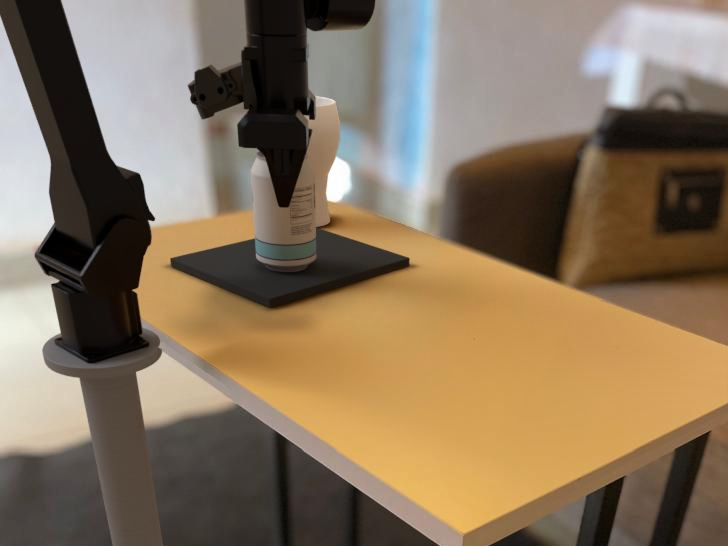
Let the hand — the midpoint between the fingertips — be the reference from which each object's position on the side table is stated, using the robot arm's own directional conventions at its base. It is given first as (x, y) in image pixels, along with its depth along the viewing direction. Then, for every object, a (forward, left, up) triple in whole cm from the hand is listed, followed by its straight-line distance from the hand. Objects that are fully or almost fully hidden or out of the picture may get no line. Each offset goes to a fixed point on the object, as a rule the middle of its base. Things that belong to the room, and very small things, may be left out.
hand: (283, 206), depth 88 cm
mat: (+6, +7, -9) cm, 13 cm away
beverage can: (+4, +5, -8) cm, 10 cm away
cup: (+20, +21, -9) cm, 30 cm away
